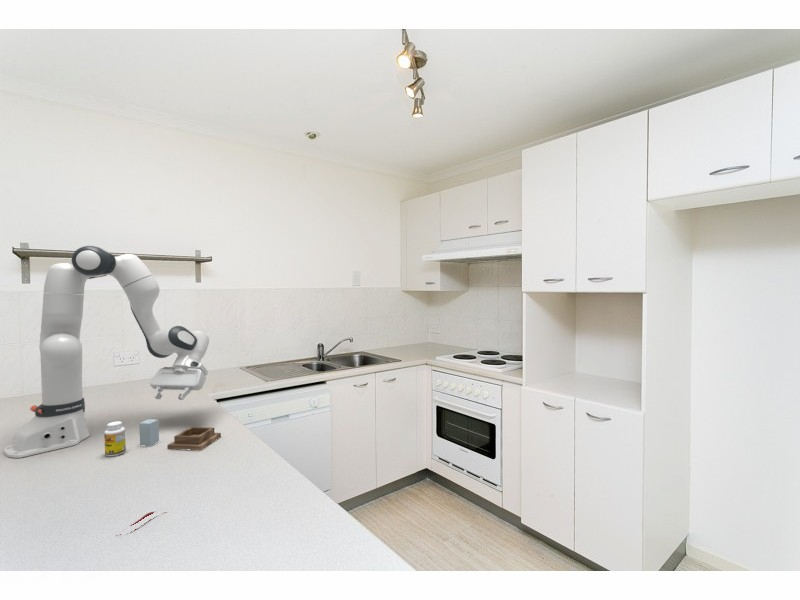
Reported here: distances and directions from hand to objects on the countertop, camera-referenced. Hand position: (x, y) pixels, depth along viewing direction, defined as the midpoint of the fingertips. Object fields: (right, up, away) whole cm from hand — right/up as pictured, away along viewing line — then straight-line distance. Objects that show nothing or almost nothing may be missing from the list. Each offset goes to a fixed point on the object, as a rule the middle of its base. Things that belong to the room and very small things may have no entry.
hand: (168, 398), depth 147 cm
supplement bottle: (-7, -14, -17) cm, 24 cm away
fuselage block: (-1, -13, -10) cm, 17 cm away
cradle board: (+15, -13, -9) cm, 22 cm away
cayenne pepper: (+26, -16, -55) cm, 63 cm away
